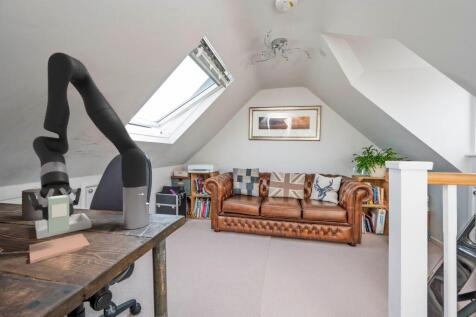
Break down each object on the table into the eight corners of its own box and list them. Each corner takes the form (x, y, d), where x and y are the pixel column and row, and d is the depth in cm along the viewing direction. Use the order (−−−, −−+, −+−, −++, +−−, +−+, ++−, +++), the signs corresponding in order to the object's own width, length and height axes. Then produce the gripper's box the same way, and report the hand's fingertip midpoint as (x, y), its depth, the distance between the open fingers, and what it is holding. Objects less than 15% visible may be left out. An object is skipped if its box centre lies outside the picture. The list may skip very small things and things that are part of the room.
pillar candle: (15, 221, 93) (15, 189, 93) (32, 215, 103) (32, 185, 102) (40, 220, 95) (40, 188, 95) (54, 214, 105) (54, 185, 104)
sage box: (47, 229, 67) (47, 196, 67) (67, 226, 71) (66, 194, 70) (48, 234, 64) (48, 199, 63) (69, 230, 67) (69, 196, 67)
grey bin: (83, 220, 95) (83, 212, 95) (91, 229, 84) (91, 220, 84) (35, 229, 83) (35, 221, 83) (37, 241, 72) (36, 231, 72)
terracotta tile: (81, 235, 77) (81, 233, 77) (90, 246, 68) (90, 244, 68) (29, 247, 67) (29, 245, 67) (30, 263, 58) (30, 260, 58)
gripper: (26, 171, 67) (27, 215, 59) (80, 169, 77) (87, 206, 69) (26, 185, 70) (27, 228, 62) (78, 181, 81) (84, 218, 73)
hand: (59, 217), depth 66 cm, fingers closed on sage box, 5 cm apart
